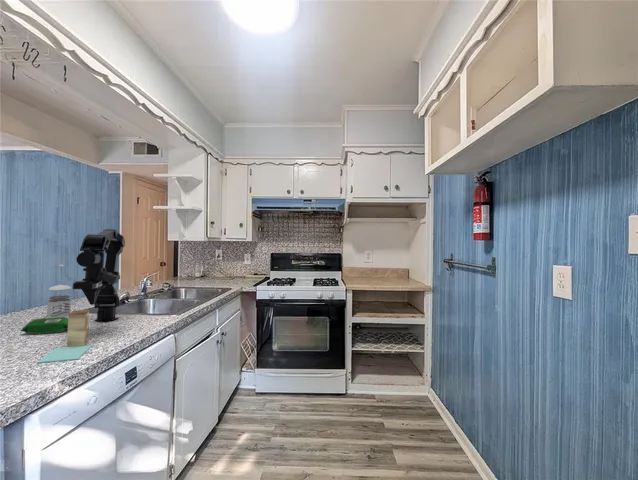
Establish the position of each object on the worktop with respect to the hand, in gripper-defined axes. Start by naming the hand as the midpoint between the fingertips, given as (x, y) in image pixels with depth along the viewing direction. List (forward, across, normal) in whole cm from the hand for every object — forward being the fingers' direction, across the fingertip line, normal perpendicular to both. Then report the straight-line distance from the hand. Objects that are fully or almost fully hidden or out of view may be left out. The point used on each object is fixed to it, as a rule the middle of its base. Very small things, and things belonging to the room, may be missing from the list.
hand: (92, 304), depth 113 cm
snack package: (+12, +6, +16) cm, 21 cm away
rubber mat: (+13, -21, -2) cm, 24 cm away
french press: (+11, +28, +23) cm, 38 cm away
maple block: (+12, -12, -1) cm, 17 cm away
